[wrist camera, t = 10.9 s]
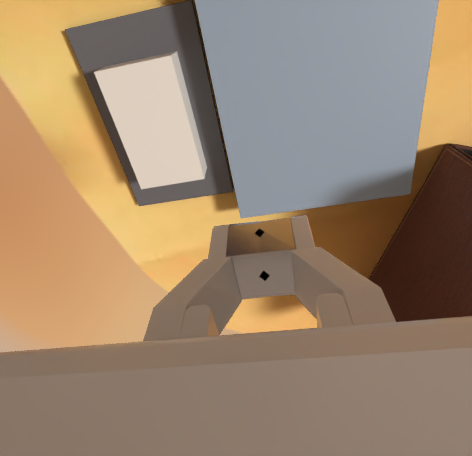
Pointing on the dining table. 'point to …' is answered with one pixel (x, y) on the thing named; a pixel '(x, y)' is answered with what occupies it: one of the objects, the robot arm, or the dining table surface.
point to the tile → (154, 119)
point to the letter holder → (433, 246)
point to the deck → (318, 97)
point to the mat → (195, 76)
